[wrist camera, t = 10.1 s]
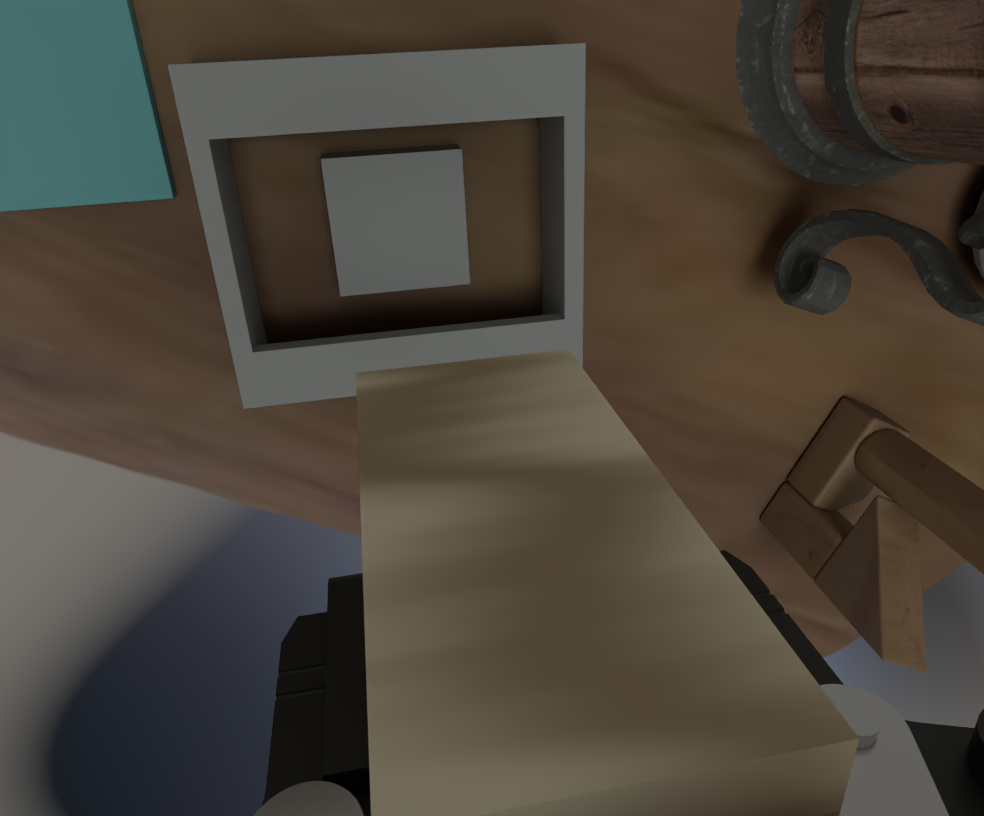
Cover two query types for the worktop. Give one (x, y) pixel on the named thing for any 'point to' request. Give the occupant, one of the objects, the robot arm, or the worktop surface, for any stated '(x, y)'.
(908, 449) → the wooden block
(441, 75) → the open gray rectangular frame
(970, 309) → the tankard
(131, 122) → the mat
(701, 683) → the birch block
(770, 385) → the worktop surface
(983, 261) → the coffee pot
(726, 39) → the worktop surface
